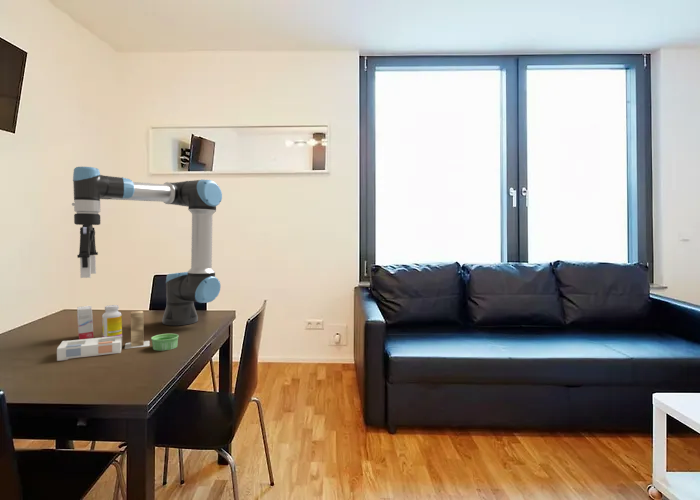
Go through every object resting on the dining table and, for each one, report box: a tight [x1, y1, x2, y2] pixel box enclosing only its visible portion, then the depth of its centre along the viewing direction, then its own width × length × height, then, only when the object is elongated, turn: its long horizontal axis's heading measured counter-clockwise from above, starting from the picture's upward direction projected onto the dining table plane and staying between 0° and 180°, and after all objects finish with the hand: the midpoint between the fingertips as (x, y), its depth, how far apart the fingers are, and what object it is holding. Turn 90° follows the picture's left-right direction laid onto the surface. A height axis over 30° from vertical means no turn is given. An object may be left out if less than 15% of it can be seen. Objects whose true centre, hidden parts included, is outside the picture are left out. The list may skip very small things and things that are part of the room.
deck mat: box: [124, 340, 151, 350], centre depth 152 cm, size 8×8×1 cm
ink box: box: [76, 305, 94, 340], centre depth 162 cm, size 9×5×12 cm, turn 34°
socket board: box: [56, 335, 123, 362], centre depth 142 cm, size 18×10×4 cm, turn 116°
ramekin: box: [150, 333, 179, 352], centre depth 148 cm, size 9×9×4 cm
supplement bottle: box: [101, 304, 123, 337], centre depth 161 cm, size 7×7×13 cm
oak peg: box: [130, 310, 145, 346], centre depth 151 cm, size 4×4×12 cm
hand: (88, 275), depth 141 cm, fingers open, 13 cm apart
